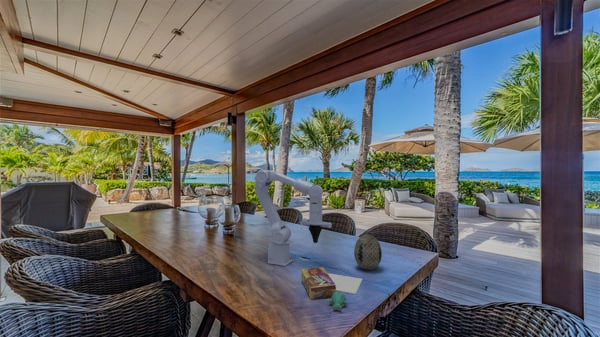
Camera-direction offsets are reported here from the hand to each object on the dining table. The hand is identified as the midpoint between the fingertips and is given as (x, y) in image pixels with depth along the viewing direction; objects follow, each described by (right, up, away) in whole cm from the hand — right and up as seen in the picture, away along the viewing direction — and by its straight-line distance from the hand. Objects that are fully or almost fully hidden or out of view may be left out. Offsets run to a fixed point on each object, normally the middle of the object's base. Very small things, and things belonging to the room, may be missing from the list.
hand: (315, 242), depth 120 cm
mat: (+8, -10, -19) cm, 23 cm away
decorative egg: (+23, -11, -3) cm, 25 cm away
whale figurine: (+5, -10, -36) cm, 38 cm away
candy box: (-2, -8, -16) cm, 18 cm away
